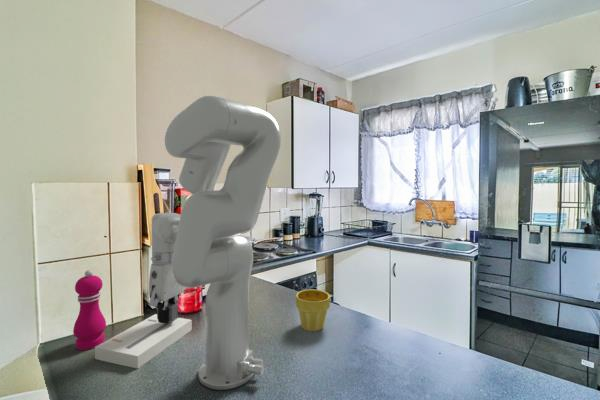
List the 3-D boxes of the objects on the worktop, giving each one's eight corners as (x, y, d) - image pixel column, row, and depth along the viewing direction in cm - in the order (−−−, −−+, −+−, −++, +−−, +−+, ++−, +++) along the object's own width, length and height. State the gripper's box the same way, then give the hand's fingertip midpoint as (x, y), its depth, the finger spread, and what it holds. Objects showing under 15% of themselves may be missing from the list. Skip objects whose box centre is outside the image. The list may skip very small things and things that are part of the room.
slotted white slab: (191, 329, 90) (191, 319, 90) (138, 368, 71) (137, 355, 71) (155, 323, 94) (155, 313, 93) (95, 359, 74) (94, 346, 74)
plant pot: (325, 337, 86) (325, 303, 86) (290, 331, 90) (291, 298, 89) (333, 321, 96) (333, 291, 96) (301, 317, 99) (302, 287, 99)
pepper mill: (90, 352, 77) (88, 275, 76) (66, 349, 79) (64, 273, 78) (112, 338, 84) (111, 267, 83) (90, 335, 86) (89, 265, 85)
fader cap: (177, 321, 88) (177, 304, 87) (172, 325, 85) (171, 307, 85) (163, 319, 89) (163, 302, 89) (157, 322, 87) (157, 305, 86)
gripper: (156, 264, 77) (157, 335, 78) (195, 251, 93) (196, 310, 94) (133, 262, 80) (134, 331, 80) (174, 249, 95) (175, 307, 96)
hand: (167, 319), depth 87 cm, fingers closed on fader cap, 2 cm apart
